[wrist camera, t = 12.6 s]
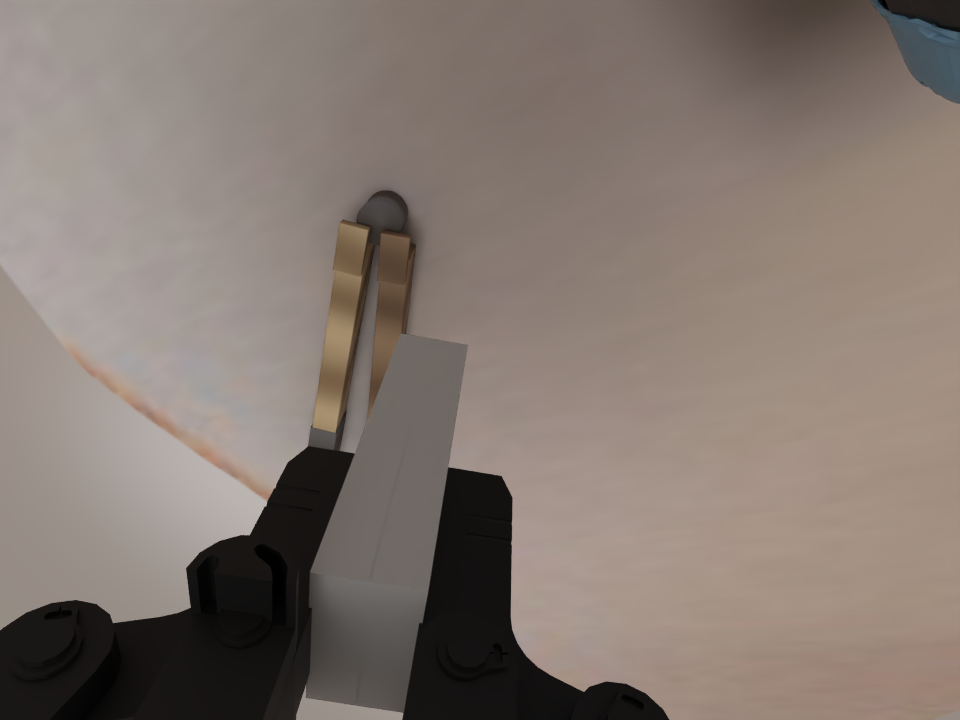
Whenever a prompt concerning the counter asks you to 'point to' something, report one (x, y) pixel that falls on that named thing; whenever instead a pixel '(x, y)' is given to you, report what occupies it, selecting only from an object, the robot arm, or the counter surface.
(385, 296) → the base
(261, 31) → the counter surface
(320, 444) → the tong arm
